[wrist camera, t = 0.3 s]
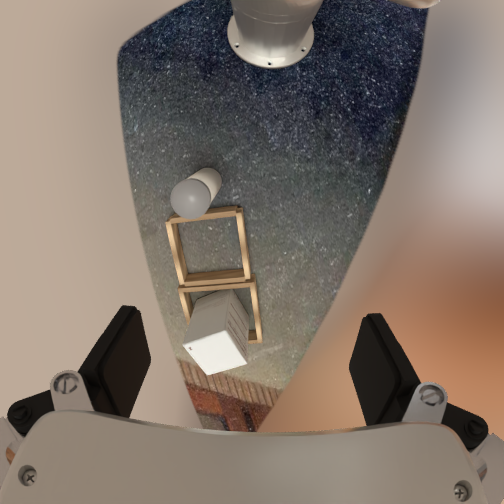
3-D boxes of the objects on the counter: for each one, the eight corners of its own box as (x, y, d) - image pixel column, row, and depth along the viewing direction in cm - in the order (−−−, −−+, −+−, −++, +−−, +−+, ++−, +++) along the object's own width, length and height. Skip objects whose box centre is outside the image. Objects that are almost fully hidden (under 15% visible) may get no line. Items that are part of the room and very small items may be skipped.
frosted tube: (192, 166, 42) (169, 179, 31) (222, 167, 42) (209, 179, 31) (192, 196, 44) (171, 218, 33) (222, 196, 44) (209, 219, 33)
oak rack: (166, 214, 45) (161, 220, 42) (246, 204, 44) (245, 209, 41) (196, 336, 55) (194, 346, 52) (262, 332, 54) (262, 342, 51)
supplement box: (215, 328, 54) (205, 376, 42) (195, 298, 51) (180, 344, 40) (250, 316, 52) (248, 365, 41) (232, 284, 50) (225, 330, 38)
